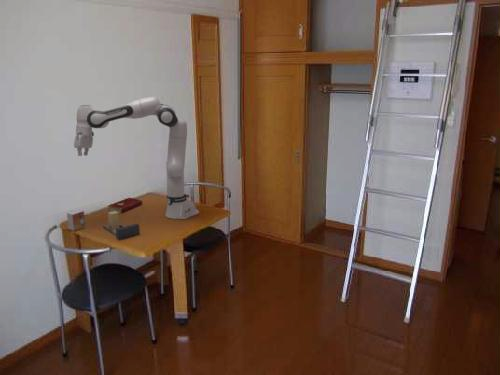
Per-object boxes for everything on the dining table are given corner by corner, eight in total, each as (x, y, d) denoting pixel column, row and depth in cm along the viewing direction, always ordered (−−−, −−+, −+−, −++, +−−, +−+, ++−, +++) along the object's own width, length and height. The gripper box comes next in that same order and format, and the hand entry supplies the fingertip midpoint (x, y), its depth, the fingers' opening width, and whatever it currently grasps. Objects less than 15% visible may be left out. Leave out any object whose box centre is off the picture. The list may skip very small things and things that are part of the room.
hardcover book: (142, 205, 297) (142, 199, 296) (121, 214, 280) (120, 208, 278) (129, 202, 303) (129, 196, 301) (107, 211, 285) (107, 205, 283)
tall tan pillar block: (116, 226, 259) (114, 210, 256) (119, 228, 256) (118, 212, 253) (109, 227, 256) (107, 212, 253) (112, 230, 253) (111, 214, 250)
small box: (73, 231, 249) (72, 214, 246) (68, 229, 252) (66, 212, 249) (85, 227, 255) (84, 211, 252) (80, 225, 259) (78, 209, 256)
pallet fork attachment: (120, 223, 263) (119, 214, 262) (139, 234, 247) (139, 224, 246) (100, 228, 255) (99, 218, 253) (119, 240, 239) (118, 230, 237)
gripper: (82, 132, 241) (81, 156, 242) (94, 133, 262) (93, 155, 263) (71, 131, 241) (70, 155, 242) (84, 132, 261) (83, 154, 263)
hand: (82, 155), depth 253 cm, fingers open, 8 cm apart
